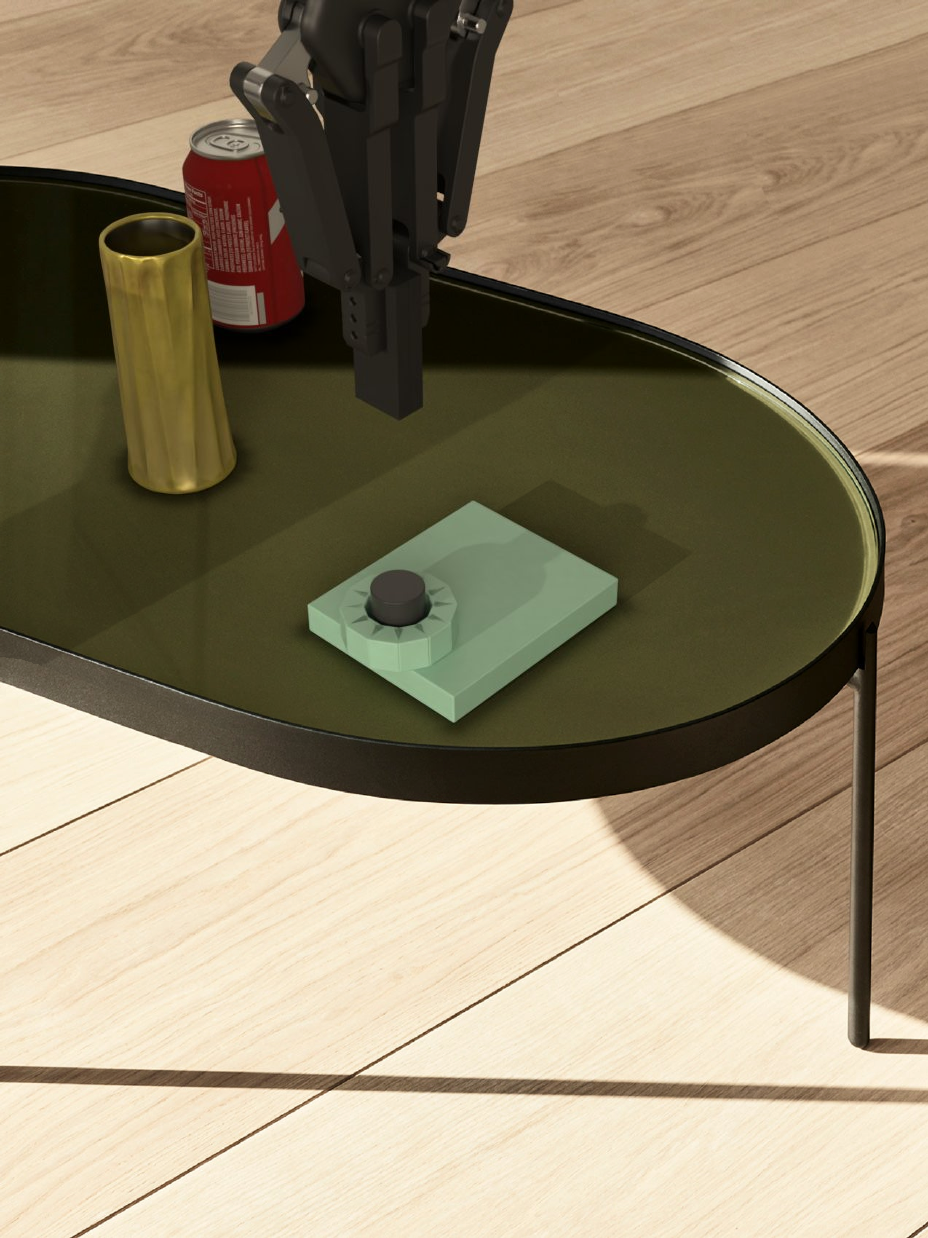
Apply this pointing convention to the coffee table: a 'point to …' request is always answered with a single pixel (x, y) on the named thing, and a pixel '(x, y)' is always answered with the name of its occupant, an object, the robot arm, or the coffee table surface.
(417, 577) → the tare button
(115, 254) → the vase
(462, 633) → the scale
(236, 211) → the soda can
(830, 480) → the coffee table surface
